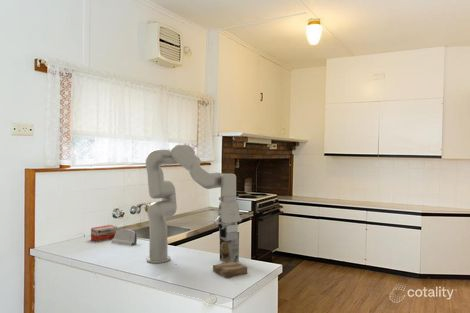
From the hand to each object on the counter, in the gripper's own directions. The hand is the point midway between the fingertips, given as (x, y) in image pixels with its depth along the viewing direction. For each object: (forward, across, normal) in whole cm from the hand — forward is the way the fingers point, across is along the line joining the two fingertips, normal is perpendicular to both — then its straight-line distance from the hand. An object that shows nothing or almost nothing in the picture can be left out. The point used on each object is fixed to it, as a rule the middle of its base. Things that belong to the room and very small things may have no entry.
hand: (228, 235), depth 171 cm
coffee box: (+18, +10, +15) cm, 26 cm away
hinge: (+18, -24, +85) cm, 90 cm away
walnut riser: (+18, +1, 0) cm, 18 cm away
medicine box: (+18, -32, +104) cm, 111 cm away
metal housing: (+1, 0, 0) cm, 1 cm away
